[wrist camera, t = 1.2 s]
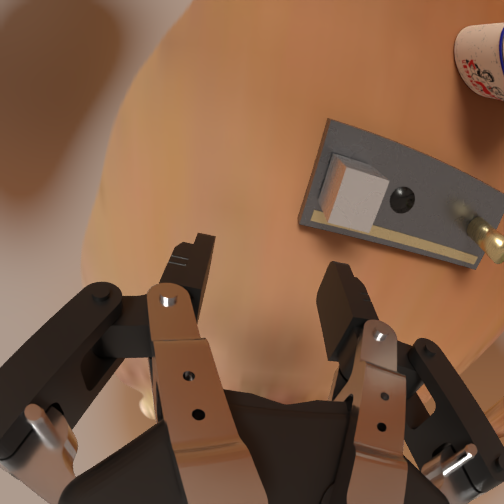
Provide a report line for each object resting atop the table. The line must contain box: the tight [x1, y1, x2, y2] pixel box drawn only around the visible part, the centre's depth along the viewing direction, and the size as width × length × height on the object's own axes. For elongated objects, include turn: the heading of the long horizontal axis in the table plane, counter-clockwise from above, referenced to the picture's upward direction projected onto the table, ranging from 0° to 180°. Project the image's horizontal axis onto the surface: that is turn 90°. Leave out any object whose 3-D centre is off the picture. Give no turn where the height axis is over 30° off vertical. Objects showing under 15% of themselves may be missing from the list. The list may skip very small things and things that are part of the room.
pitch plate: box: [298, 118, 504, 270], centre depth 28 cm, size 26×11×8 cm, turn 77°
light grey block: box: [318, 153, 389, 233], centre depth 27 cm, size 4×5×5 cm
